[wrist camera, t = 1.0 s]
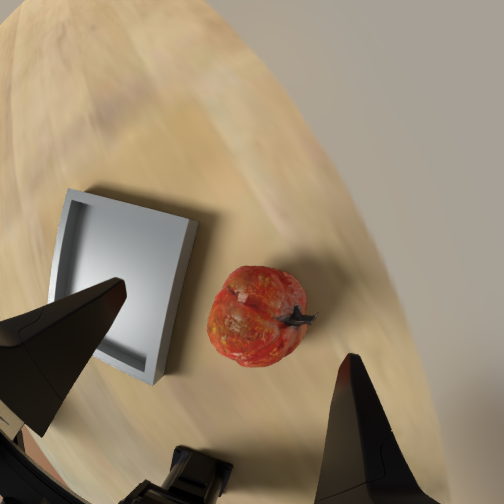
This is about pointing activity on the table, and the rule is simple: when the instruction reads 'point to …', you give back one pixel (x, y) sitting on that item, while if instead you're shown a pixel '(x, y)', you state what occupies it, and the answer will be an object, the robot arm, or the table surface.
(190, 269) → the table surface
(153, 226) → the tray
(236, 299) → the pomegranate
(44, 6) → the table surface
